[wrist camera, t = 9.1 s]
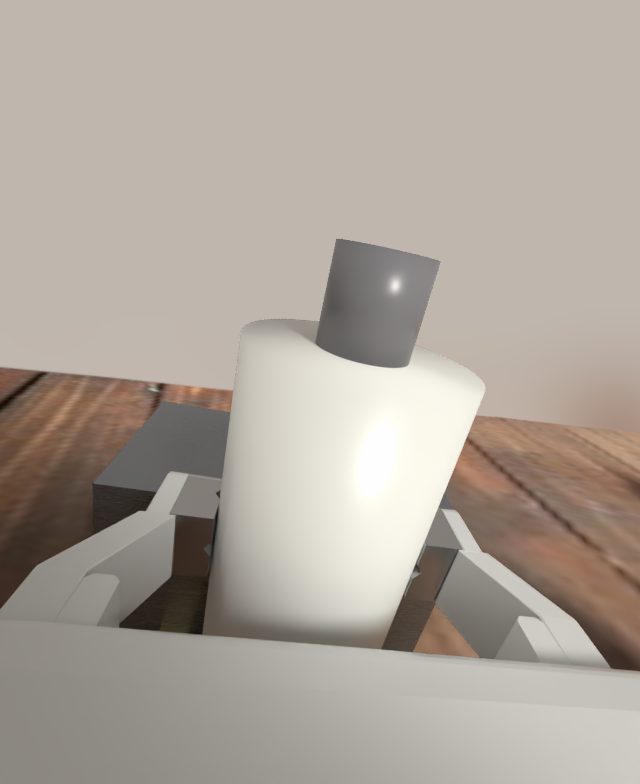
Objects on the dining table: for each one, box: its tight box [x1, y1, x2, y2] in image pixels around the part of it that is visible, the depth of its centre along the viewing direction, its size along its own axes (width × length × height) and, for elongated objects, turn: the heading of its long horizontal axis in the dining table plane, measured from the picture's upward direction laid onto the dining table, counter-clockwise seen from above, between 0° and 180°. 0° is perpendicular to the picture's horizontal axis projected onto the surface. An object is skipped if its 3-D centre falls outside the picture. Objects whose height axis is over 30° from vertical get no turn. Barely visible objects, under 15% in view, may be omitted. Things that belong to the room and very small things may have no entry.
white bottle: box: [202, 239, 485, 650], centre depth 9 cm, size 5×5×14 cm
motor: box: [93, 401, 454, 652], centre depth 15 cm, size 16×13×13 cm
